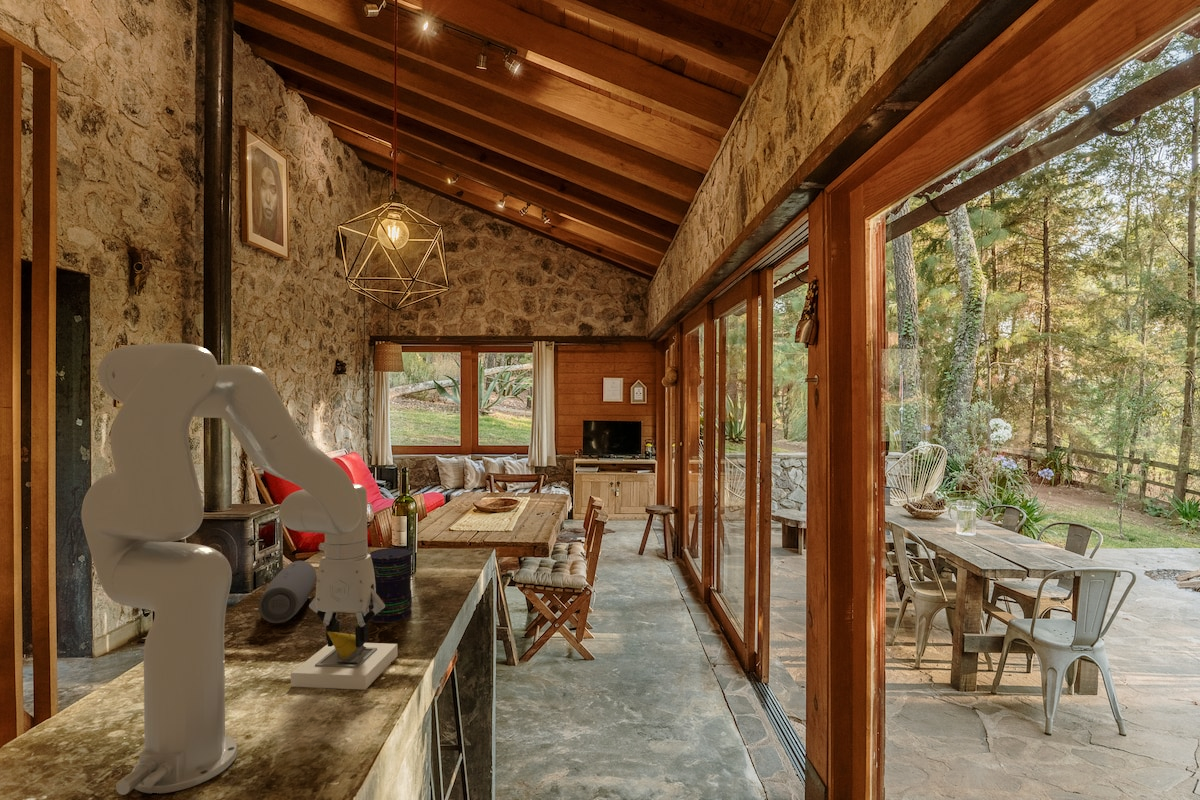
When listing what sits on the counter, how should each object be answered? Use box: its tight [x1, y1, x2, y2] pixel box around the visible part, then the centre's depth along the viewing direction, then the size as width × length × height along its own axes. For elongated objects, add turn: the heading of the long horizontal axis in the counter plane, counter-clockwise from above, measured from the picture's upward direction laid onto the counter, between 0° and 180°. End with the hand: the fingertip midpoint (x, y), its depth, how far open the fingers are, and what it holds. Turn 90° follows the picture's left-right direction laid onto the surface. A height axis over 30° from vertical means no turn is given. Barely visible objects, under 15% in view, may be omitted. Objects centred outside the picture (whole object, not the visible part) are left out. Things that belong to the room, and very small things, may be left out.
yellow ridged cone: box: [327, 631, 366, 663], centre depth 118 cm, size 5×5×10 cm
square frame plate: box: [290, 642, 399, 691], centre depth 118 cm, size 14×14×3 cm
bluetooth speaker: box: [258, 560, 317, 624], centre depth 150 cm, size 23×9×10 cm, turn 15°
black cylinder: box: [368, 547, 413, 624], centre depth 147 cm, size 10×10×15 cm
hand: (347, 643), depth 118 cm, fingers closed on yellow ridged cone, 4 cm apart
